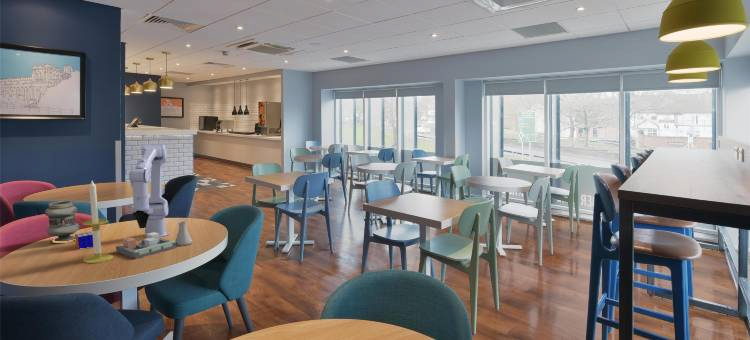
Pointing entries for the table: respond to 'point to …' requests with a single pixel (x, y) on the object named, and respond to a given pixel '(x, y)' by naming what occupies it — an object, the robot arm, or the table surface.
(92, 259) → the candle
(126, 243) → the clay pink cube
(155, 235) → the pale grey square block
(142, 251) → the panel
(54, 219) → the apothecary jar
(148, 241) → the pale blue tilted box
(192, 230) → the table surface
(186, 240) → the flask
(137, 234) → the table surface
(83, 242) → the rubik's cube
